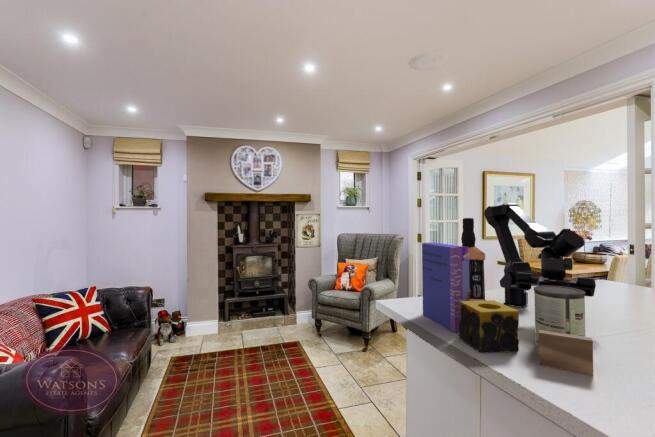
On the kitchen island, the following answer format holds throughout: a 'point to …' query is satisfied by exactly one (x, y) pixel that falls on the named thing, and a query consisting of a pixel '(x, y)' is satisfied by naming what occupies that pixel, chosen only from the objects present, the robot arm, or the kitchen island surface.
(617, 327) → the kitchen island surface
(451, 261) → the cereal box
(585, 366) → the wooden block
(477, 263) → the whiskey bottle
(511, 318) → the yellow cube with hole
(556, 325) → the coffee can
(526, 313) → the kitchen island surface
